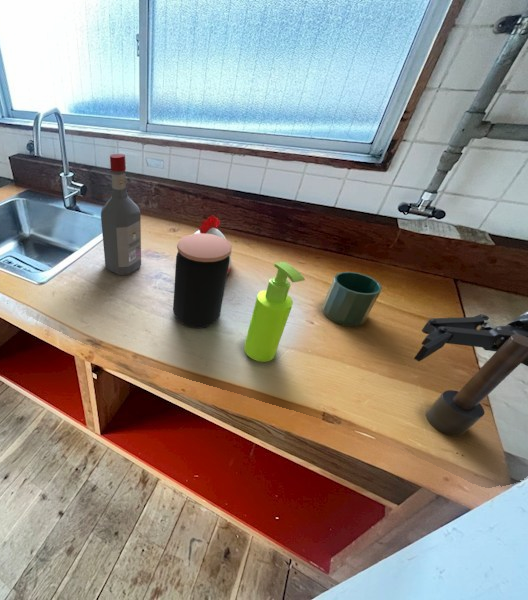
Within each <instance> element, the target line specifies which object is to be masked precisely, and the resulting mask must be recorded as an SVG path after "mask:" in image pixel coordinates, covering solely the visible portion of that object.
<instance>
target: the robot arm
mask: <svg viewBox="0 0 528 600" xmlns="http://www.w3.org/2000/svg"><path fill="white" fill-rule="evenodd" d="M489 319H490V317H489V316H488V315H486V314H484V313H483V314H482V313H481V314H478V315H475V316H462V317H436V318H435V317H434V318H432V317H431V318H429V319H428V320H427V322H426V323H425V325H424V326H423V328H422V329H421V331H422V333H423V334H426V336H425V337H424V339H423V340H422V342H421V345H422V346H421V348H420V349H419V350H418V352H417V353H416V355H415V356H414V358H413V359H414V360H416V361H417V362H418V363H420V362H421V361H423V360H424V359H426V358H427V357H430V355H433V354H434V353H435V352H437V351H438V350H440V349H442V348H443V347H444V346H445V345H446V344H450V345H457V346H458V345H459V346H466V347H474V348H475V347H477V348H482V349H483V350H484V351H490V352H495V353H496V352H497V350H498V349H499V348H500V347H501V346H502V345H503V344H504V343H505V342H506V341H507V340H508V339H509V338H510V337H511V336H512V335H522V336H526V337H528V310H527V311H525V312H524V313H522V314H521V315H520V316H518V317H516V318H515V319H513V320H511V322H509V323H507V324H506V325H499V326H497V325H495V324H494V323H491V322H489ZM521 364H523V365H524V366H526V367H528V357H527V358H526V359H525V360H524V361H523V362H522V363H521Z"/></svg>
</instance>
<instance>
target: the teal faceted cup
mask: <svg viewBox="0 0 528 600" xmlns="http://www.w3.org/2000/svg"><path fill="white" fill-rule="evenodd" d="M382 290H383V287H382V285H381V283H380V282H379V281H378V280H376V279H375V278H373V277H371V276H369V275H367V274H364V273H359V272H355V271H341V272H338V273H336V274H335V275H334V278H333V279H332V281H331V284H330V286H329V288H328V290H327V293H326V296H325V298H324V300H323V302H322V305H321V312H322V314H323V315H324V316H325V317H326V318H327V319H329V320H330V321H332V322H334V323H336V324H339V325H342V326H346V327H357V326H361V325H363V324H364V323H365V321H366V320H367V318H368V316H369V314H370V313H371V311H372V309H373V308H374V305H375V303H376V302H377V300H378V298H379V296H380V294H381V293H382Z"/></svg>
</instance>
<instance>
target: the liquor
mask: <svg viewBox="0 0 528 600" xmlns="http://www.w3.org/2000/svg"><path fill="white" fill-rule="evenodd" d="M109 162H110V164H109V165H110V171H111V182H112V183H111V185H112V186H111V187H112V190H111V196H110V198H108V200H107V202H106V203H105V204H104V205H103V207H102V208H101V211H100V221H101V232H102V242H103V243H102V244H103V253H104V265H105V269H106V270H107V271H110V272H112V273H114V274H116V275H118V276H127V275H131V274H132V273H134V272H136V270H138V269H140V268H141V266H142V231H141V230H142V227H141V226H142V225H141V222H142V221H141V220H142V219H141V218H142V217H141V210H140V208H139V206H138V205H137V204H136V203H135V202H134V200H133V199H131V198H130V197H129V195H128V192H127V179H126V170H127V166H126V165H127V164H126V154H125V153H124V154H123V153H114V154H111V155H109Z"/></svg>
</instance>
